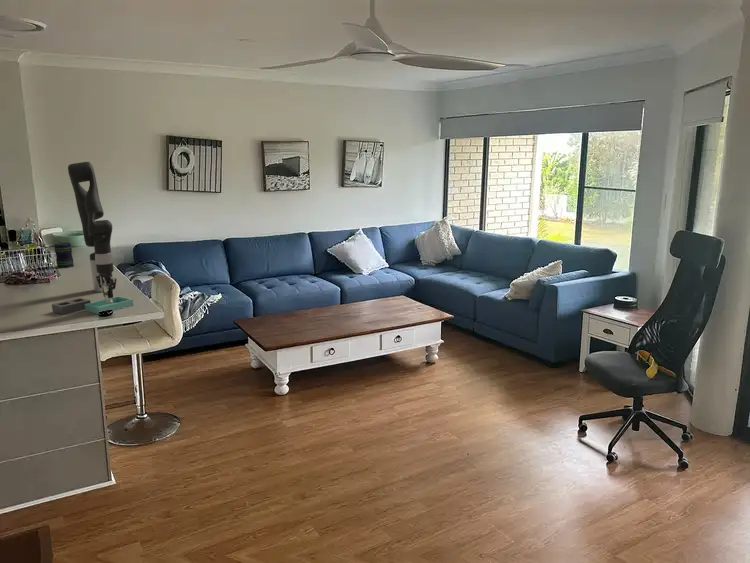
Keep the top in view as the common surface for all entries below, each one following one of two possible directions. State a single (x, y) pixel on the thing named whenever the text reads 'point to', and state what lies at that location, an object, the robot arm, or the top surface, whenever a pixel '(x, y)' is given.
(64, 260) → the storage jar
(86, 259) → the top surface
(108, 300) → the fuse
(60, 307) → the block
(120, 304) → the tray
